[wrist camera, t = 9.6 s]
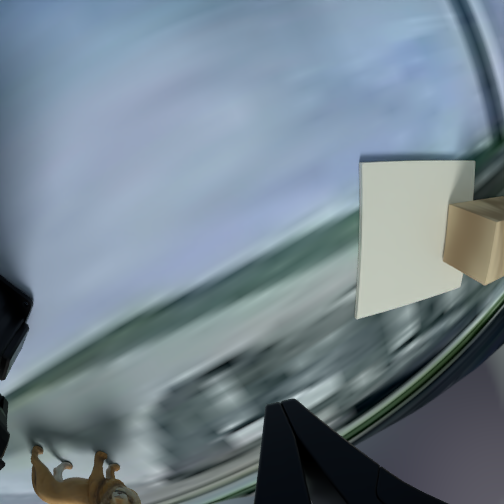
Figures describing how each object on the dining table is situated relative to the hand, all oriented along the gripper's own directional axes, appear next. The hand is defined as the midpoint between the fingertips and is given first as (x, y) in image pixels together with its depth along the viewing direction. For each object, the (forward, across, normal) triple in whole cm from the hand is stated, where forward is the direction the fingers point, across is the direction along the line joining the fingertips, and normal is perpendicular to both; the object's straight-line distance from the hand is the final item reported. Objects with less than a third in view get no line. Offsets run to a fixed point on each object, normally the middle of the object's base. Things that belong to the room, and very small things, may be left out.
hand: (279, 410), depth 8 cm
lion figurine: (+13, +18, +21) cm, 31 cm away
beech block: (+10, -18, +1) cm, 21 cm away
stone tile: (+13, -16, +1) cm, 20 cm away
